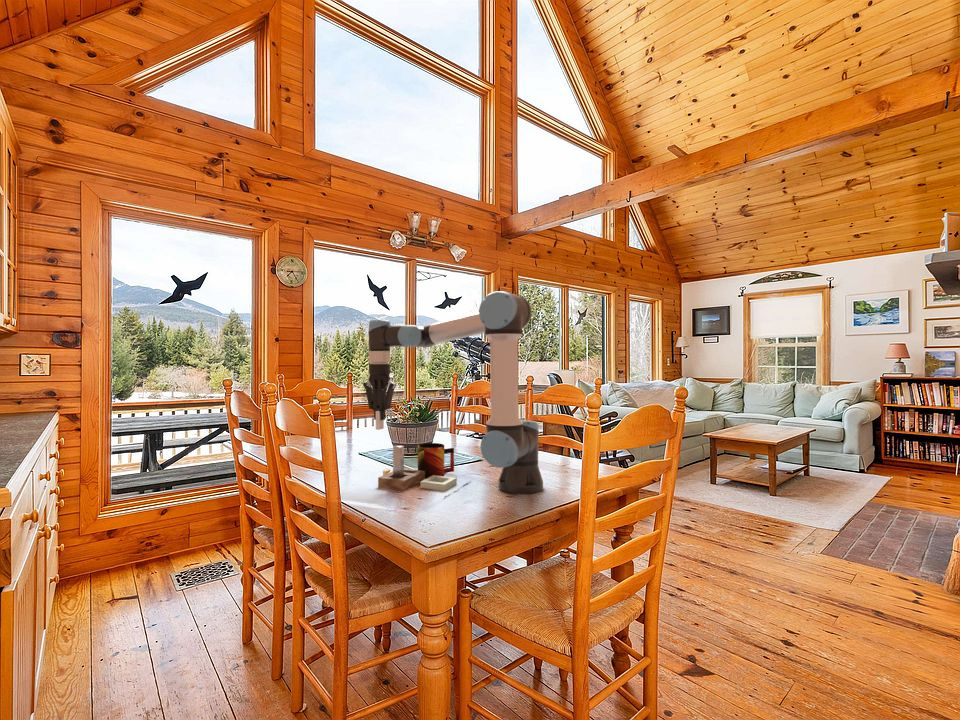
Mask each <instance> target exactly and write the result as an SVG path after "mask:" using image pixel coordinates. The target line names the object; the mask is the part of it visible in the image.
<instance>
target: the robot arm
mask: <svg viewBox="0 0 960 720" xmlns="http://www.w3.org/2000/svg"><path fill="white" fill-rule="evenodd" d="M532 312H533V311H532V307H531V305H530V303H529V301H528V300H527V299H526V298H525V297H524V296H521V295H519V294H514V293H511V292H509V291H505V290H504V291H503V290H502V291H493V292H490V293H489V294H487V295H486V296H484V297H483V299H482V301H481V302H480V305H479V309H478V312H474V313H471V314H466V315H463V316H459V317H455V318H450V319H446V320H443V321H438V322H435V323H431V324H428V325H424V326H417V325H416V324H401V325H400V324H398V325H391V321H390V320H388V319H386V320H385V319H373V320H370V321H369V322H368V332H367V333H368V363H369V365H368V374H369V375H368V380H367V381H365V382H363V383H362V386H363V388H364V390H365V394H366V400H367V405H368V408H369V410H373V420H375V430H378V431H379V430H384V426H385V425H384V421H385V420H386V411H388V410H390V409H391V407H392V401H393V398H394V392H395V388H396V387H397V383H396V382H393V381H392V380H391V377H390V374H391V365H390V363H391V347H394V348H395V347H398V348H400V347H401V348H431V347H434V346H435V345H437V344H442V343H446V342H451V341H455V340H460V339H463V338H465V339H466V338H468V337H473V336H477V335H482V334H484V336H485V337H486V339H488V340H489V360H490V362H489V367H490V369H489V370H490V371H489V375H490V376H489V377H490V378H489V379H490V380H489V381H490V417H489V419H488V420H487V421H486V422H485V434H484V436H483V437H482V438H481V441H480V452H481V455H482V457H483V459H484V460H485V461H486V462H487V463H488V464H489V465H491V466H493V467H495V468H498V469H499V468H500V469H501V472H500V476H499V477H498V489H499V490H501V491H503V492H505V493H511V494H520V495H521V494H522V495H523V494H524V495H526V494H535V493H539V492H541V491H543V490H544V480H543V477H542V473H541V471H540V467H539V433H540V430H539V424H538V422H537V421H536V420H535V421H534V420H525V419H523V420H522V419H521V418H519V383H518V381H519V380H518V379H519V376H518V375H519V367H518V364H519V363H518V356H519V355H518V341H519V339H520V338H521V337H522V336H523V329H524V328H525V327H526V326H528V324H529V323H530V320H531V319H532Z"/></svg>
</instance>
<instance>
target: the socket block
mask: <svg viewBox="0 0 960 720" xmlns="http://www.w3.org/2000/svg"><path fill="white" fill-rule="evenodd" d="M423 480H425V471H421V470H418V469H410V468H404V477H403V478H393V471H390V473H388V474H386V475H383V474H382V475H381V476H379V477H377V482H378V483H377V484H378V485H377V486H378V488H385V489H394V490H400V491H405V490H407V489H409V488H411V487H413V486H415V485H417V484H419V483H420V482H421V481H423Z"/></svg>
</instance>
